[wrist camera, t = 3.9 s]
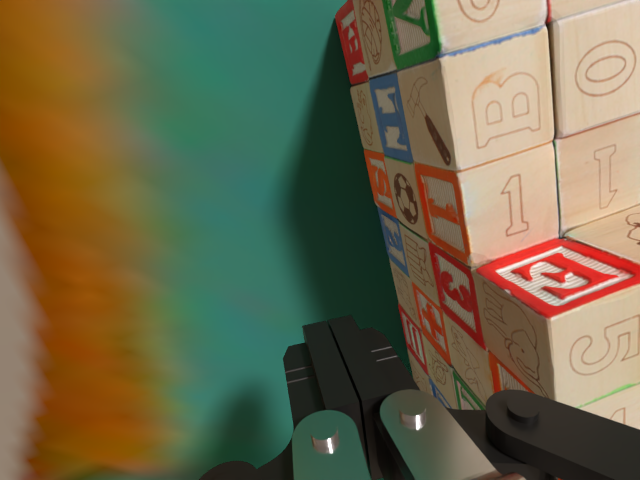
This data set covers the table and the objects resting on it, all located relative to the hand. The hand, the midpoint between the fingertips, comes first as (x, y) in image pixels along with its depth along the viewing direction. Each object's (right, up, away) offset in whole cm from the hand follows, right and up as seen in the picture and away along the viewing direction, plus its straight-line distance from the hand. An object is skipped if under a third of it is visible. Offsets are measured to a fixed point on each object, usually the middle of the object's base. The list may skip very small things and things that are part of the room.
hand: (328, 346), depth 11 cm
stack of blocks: (+6, +5, +10) cm, 12 cm away
